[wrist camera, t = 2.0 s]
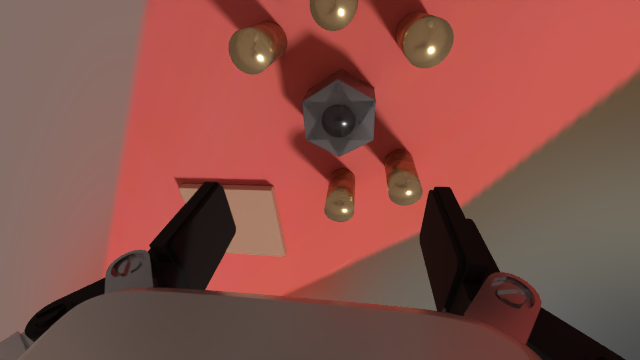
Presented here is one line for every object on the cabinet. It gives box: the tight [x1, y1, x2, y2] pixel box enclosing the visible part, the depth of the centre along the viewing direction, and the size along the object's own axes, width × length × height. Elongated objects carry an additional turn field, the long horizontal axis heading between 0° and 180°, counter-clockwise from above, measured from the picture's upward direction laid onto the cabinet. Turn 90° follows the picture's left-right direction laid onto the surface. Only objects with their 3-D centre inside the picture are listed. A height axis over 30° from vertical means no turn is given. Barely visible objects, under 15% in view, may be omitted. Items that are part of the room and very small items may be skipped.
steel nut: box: [302, 69, 376, 157], centre depth 20 cm, size 6×5×3 cm
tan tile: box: [179, 184, 287, 257], centre depth 30 cm, size 10×10×1 cm
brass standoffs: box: [229, 0, 453, 222], centre depth 19 cm, size 16×12×4 cm
